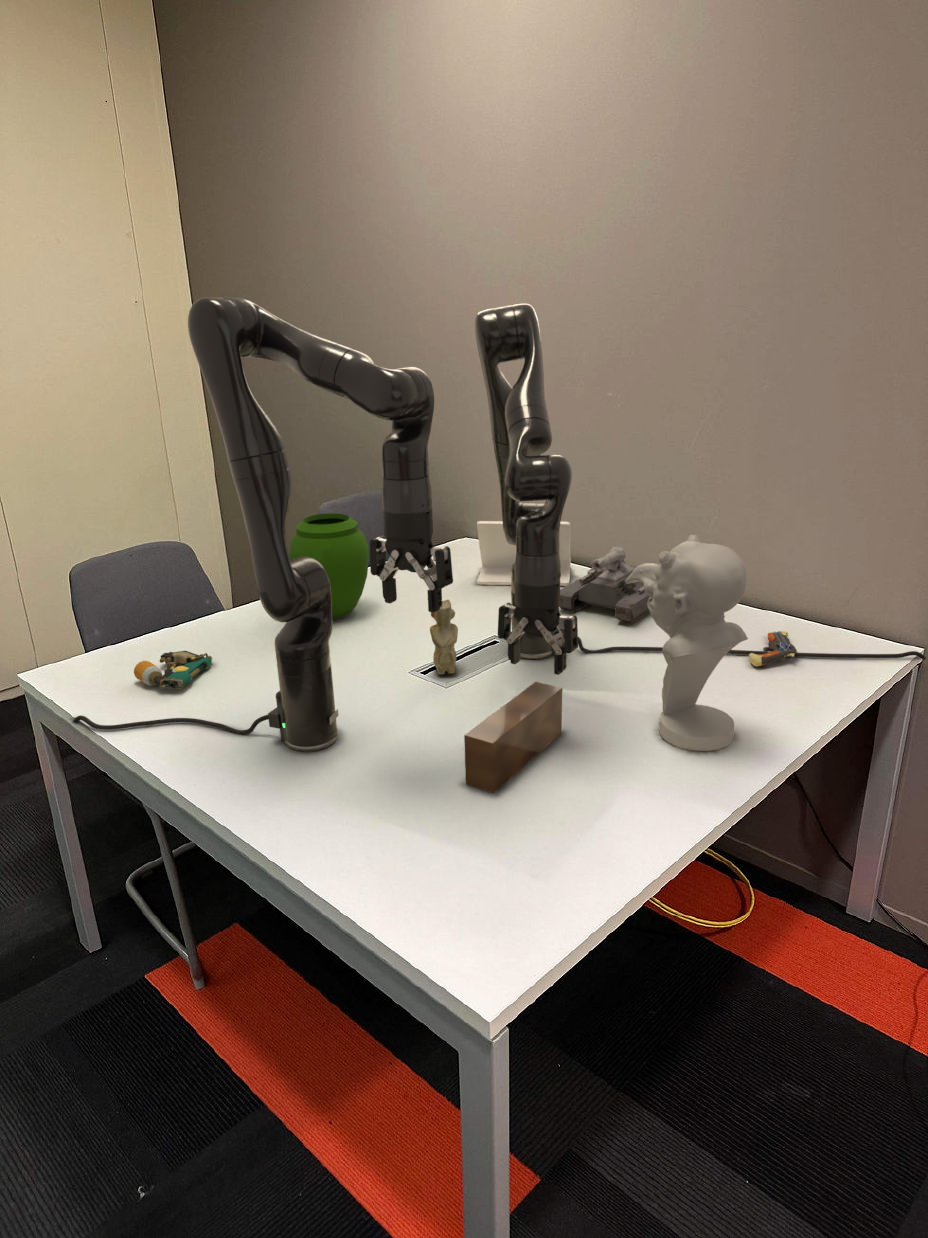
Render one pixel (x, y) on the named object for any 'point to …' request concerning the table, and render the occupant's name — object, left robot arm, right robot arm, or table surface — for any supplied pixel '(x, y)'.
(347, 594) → the vase
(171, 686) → the spray gun
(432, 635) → the sculpture
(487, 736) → the bar
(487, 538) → the tablet stand
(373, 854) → the table surface
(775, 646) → the toy gun
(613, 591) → the toy
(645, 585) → the bust sculpture
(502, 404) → the right robot arm
